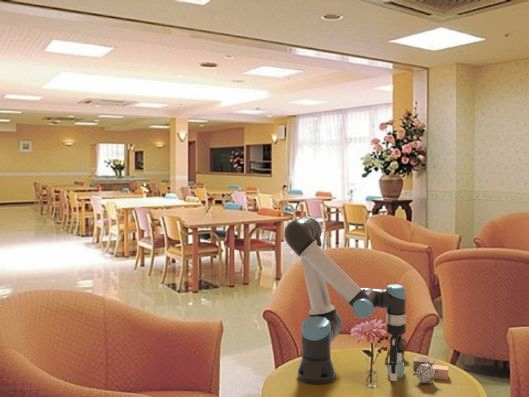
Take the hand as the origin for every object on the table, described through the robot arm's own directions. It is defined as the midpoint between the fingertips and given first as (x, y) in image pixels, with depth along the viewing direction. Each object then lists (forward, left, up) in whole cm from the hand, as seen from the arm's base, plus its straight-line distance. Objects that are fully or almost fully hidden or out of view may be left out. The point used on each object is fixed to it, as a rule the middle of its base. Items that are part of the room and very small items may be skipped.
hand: (396, 374), depth 216 cm
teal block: (0, 0, 0) cm, 0 cm away
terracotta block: (+17, +4, 0) cm, 17 cm away
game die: (+12, -4, 0) cm, 13 cm away
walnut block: (+10, +10, 0) cm, 14 cm away
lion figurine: (-2, +15, 0) cm, 15 cm away
